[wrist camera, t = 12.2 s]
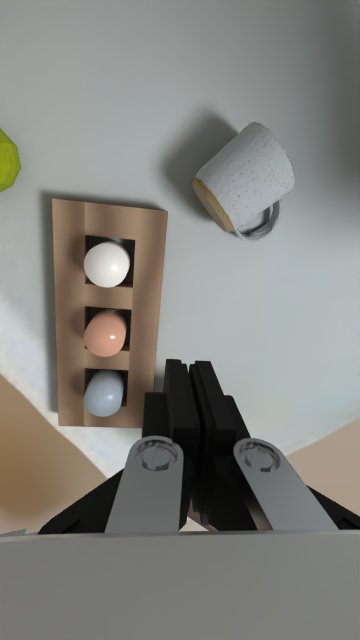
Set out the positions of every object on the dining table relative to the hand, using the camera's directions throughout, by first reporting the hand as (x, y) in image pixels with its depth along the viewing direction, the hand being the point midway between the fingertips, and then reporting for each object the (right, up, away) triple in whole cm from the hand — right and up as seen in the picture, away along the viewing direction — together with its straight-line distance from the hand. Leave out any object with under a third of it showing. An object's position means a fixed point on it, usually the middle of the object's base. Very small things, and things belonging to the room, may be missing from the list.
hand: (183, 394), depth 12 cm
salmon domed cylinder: (-9, +2, +26) cm, 27 cm away
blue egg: (-10, -6, +28) cm, 30 cm away
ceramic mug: (+7, +17, +24) cm, 30 cm away
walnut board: (-9, +2, +27) cm, 29 cm away
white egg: (-8, +10, +23) cm, 26 cm away
